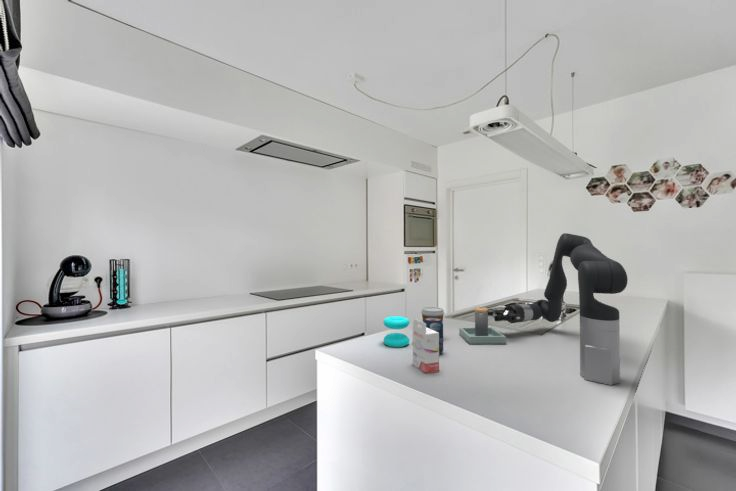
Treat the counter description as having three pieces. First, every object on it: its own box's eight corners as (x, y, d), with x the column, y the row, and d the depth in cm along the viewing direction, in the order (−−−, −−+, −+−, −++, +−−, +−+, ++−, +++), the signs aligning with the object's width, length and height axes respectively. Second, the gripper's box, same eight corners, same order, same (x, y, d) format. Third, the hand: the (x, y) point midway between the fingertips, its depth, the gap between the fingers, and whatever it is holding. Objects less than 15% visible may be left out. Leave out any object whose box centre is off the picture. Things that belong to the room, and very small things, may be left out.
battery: (485, 340, 125) (485, 307, 125) (473, 338, 129) (472, 306, 129) (490, 337, 129) (489, 306, 129) (477, 335, 132) (477, 304, 133)
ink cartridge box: (440, 371, 96) (440, 322, 96) (425, 373, 94) (425, 324, 94) (425, 361, 104) (425, 316, 104) (411, 363, 102) (411, 318, 102)
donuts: (390, 314, 130) (413, 317, 125) (391, 338, 130) (413, 342, 125) (378, 319, 122) (402, 322, 116) (378, 345, 121) (402, 349, 116)
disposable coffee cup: (417, 336, 134) (417, 307, 134) (437, 334, 137) (437, 306, 137) (427, 342, 125) (427, 312, 125) (449, 340, 128) (449, 310, 128)
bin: (506, 344, 122) (506, 336, 122) (469, 344, 122) (469, 336, 122) (492, 334, 136) (492, 327, 136) (459, 334, 136) (459, 327, 136)
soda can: (442, 356, 108) (442, 321, 108) (421, 354, 111) (421, 320, 111) (444, 350, 115) (444, 317, 115) (425, 348, 117) (424, 316, 117)
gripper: (505, 301, 142) (476, 304, 137) (532, 307, 129) (500, 310, 123) (506, 318, 142) (476, 321, 137) (532, 325, 129) (500, 329, 123)
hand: (487, 316), depth 130 cm, fingers open, 8 cm apart
